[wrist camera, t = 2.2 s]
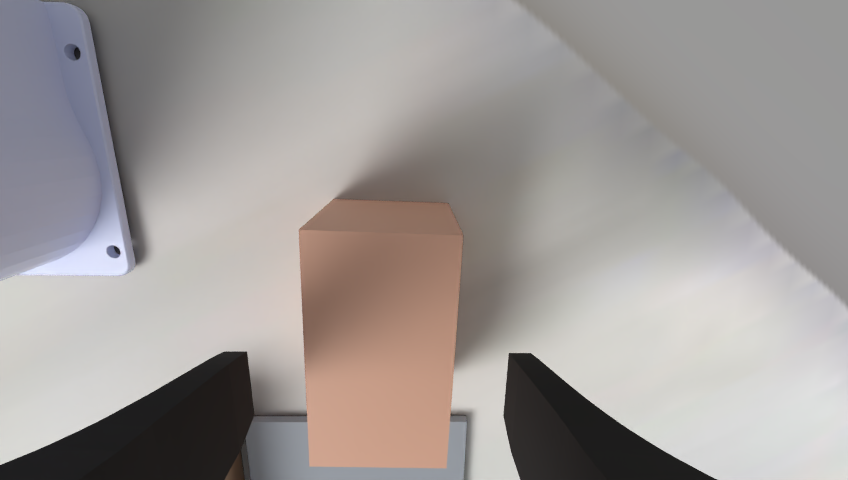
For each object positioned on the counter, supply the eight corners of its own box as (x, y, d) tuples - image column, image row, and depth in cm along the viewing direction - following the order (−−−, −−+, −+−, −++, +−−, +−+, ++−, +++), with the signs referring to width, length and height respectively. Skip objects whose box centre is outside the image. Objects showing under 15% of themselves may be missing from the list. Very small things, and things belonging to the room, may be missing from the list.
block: (334, 198, 16) (298, 229, 11) (448, 202, 16) (463, 235, 11) (337, 374, 18) (309, 466, 13) (437, 376, 18) (446, 468, 13)
